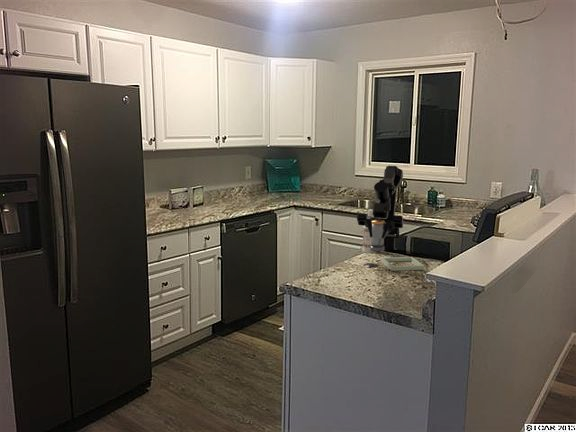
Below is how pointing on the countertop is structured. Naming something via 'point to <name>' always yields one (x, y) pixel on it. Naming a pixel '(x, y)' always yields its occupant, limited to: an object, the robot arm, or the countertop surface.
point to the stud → (371, 265)
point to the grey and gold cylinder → (377, 235)
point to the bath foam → (367, 236)
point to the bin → (392, 268)
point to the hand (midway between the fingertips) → (377, 237)
